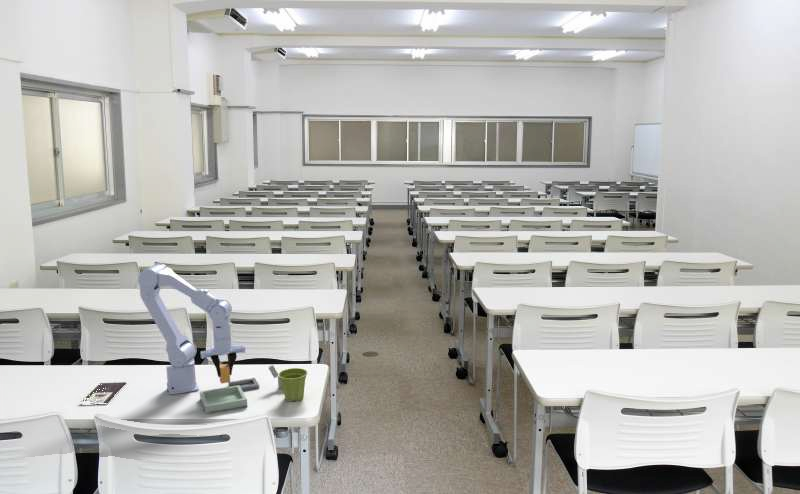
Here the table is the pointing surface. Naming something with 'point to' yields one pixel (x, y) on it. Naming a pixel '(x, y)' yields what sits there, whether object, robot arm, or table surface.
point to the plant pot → (293, 383)
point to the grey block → (275, 375)
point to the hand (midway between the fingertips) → (224, 375)
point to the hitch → (246, 381)
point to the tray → (223, 399)
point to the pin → (224, 373)
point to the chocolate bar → (109, 392)
